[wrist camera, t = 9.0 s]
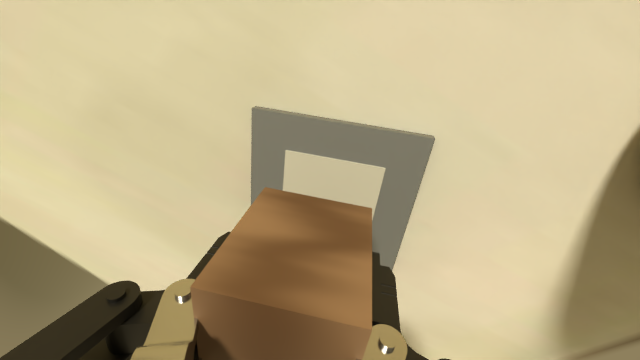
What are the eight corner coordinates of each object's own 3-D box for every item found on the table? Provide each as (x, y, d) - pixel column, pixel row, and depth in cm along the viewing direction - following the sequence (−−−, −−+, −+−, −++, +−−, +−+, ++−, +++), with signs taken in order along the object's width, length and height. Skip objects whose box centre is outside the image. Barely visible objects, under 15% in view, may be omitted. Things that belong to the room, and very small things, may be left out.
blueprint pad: (433, 136, 15) (435, 139, 14) (389, 272, 20) (389, 278, 19) (255, 106, 16) (251, 108, 15) (253, 242, 21) (250, 247, 20)
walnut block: (372, 208, 12) (372, 330, 7) (352, 287, 15) (340, 424, 9) (265, 187, 13) (189, 287, 8) (261, 266, 15) (202, 386, 10)
